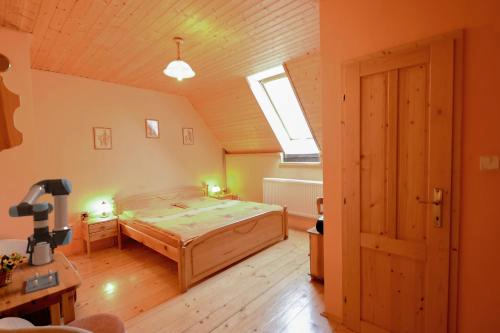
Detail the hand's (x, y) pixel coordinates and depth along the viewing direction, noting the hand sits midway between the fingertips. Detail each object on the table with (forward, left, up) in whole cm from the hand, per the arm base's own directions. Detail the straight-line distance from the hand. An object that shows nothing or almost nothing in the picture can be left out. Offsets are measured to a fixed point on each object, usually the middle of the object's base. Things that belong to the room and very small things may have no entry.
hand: (42, 261), depth 159 cm
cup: (0, 0, -1) cm, 1 cm away
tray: (0, 0, -14) cm, 14 cm away
